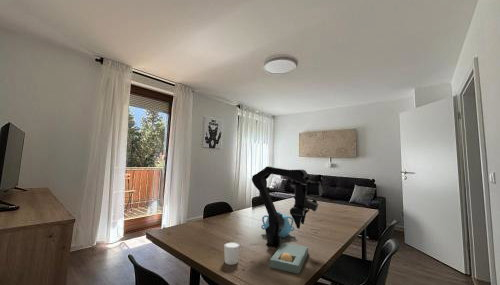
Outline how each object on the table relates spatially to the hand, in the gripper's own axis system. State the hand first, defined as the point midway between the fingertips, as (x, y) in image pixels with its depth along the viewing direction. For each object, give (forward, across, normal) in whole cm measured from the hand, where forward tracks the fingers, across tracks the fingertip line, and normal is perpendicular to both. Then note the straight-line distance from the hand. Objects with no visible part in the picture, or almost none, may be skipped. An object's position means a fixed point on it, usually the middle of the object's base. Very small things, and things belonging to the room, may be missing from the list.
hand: (300, 226), depth 106 cm
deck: (+12, -11, +2) cm, 17 cm away
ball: (+10, -18, +2) cm, 21 cm away
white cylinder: (+12, -26, +24) cm, 38 cm away
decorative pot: (+12, +19, +19) cm, 29 cm away
